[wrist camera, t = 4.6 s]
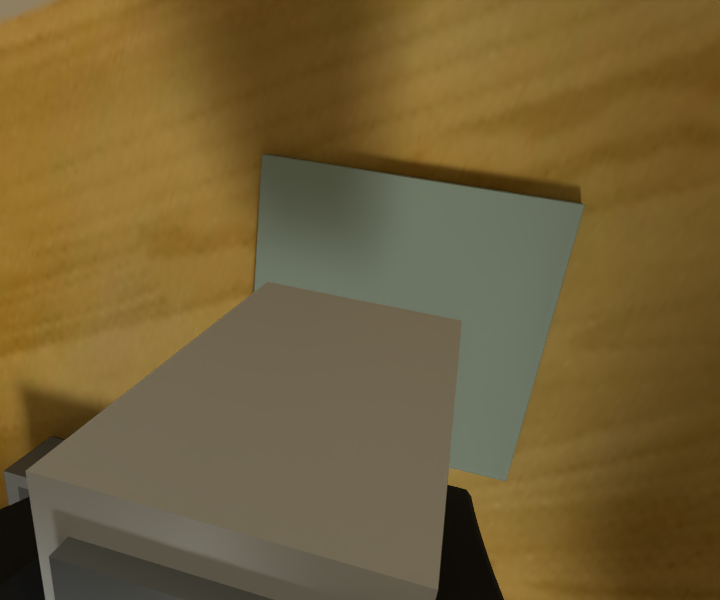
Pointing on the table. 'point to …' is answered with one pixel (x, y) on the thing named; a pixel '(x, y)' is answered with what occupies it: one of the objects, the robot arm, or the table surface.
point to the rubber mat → (430, 274)
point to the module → (263, 462)
